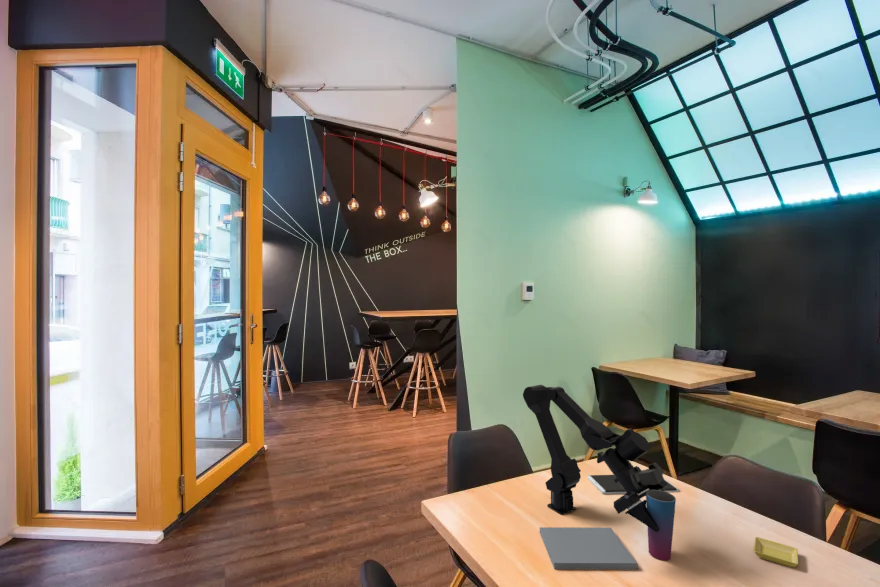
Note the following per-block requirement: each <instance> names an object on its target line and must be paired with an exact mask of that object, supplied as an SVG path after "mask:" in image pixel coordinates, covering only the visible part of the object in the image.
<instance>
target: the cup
mask: <svg viewBox="0 0 880 587" xmlns="http://www.w3.org/2000/svg"><path fill="white" fill-rule="evenodd" d="M645 500H646V508H647V510H648V511H649V513H650V515H651V516H652V518H653V519H654V521H655V522H656V524H657V526H658V528H659V529H660V531H658V532H655V531H654V530H652V529H651V528H649V527H648V526H647V542H648V544H647V545H648V554H649V555H650V556H651V557H653V558H655V559H658V560H660V561H669V560H671V558H672V548H673V535H674V522H675V511H676V500H677V499H676V497H675V496H674V495H673V494H672V493H671V492H665V491H661V490H648V491H646V496H645Z"/></svg>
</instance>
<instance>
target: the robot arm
mask: <svg viewBox="0 0 880 587" xmlns="http://www.w3.org/2000/svg"><path fill="white" fill-rule="evenodd" d="M522 396H523V398H522V399H523V400H524V403H525V404H526V406H527V408H528V409H529V410H530V411H531V412H532V413H533V414H534V415H535V418H536V420H537V423H538V425H539V426H538V427H539V428H540V431H541V433H542V436H543V440H544V443H545V444H546V447H547V450H548V453H549V455H550V459H551V463H550V472H551V477H550V478H549V479H548V480H547V481H545V486H546V490H548V491H549V492H550V503H548V504H546V505H547V507H548V508H550V509H551V510H553V511H555V512H556V513H557V514H560V515H561V516H562V515H565V514H568V513H572V512H573V511H574V512H575V511H576V510H577V507H576V506H574V495H573V490H572V489H574V488H576V487H577V484H578V483H580V480H581V479H582V478H581V472H582V471H581V468H579V465H578V463H577V460H576V458H575V457H574V458H571V457H570V456H569V455H568V454H567V452H566V449H565V446H564V444H563V441H562V439H561V436H560V433H559V432H558V428H557V426H556V423H555V420H554V417H553V415H552V412H551V409H550V408H551V401H552V402H553V403H554V405H555V406H557V407H558V408H559V409H560V410H561V412H563V414H565V416H566V417H567V418H568V419H570V421H571V422H572V423H573V424H574V425H575V426H576V427H577V429H579V432H580V434H581V435H580V436H581V438H582V440H584V442H585V443H586V444H587V446H588V447H589V449H591V450H593V451H599V452H597V458H596V463H597V464H600V463H603V462H604V463H605V465H606V466H607V467H608V469H609V470H610V472H611V473H612V475H614V476H615V477H616V479H615V480H614V481H615V483H616V484H617V483H620V484H621V486H622V487H623V488H624V490H625V491H626V494H622V496H620V497H619V498H617V499H616V500H614V501H613V508H614V510H615V511H616V513H617V514H618V515H620V514H621V513H623V512H624V514H625V515H629V516H630V517H632V518H635V519H636V520H637V521H639V522H641V523H643V524H644V525H645V526H646V527H647V528H648V527H649V528H651V529H652V530H654V531H655V532H658V531H660V529H659V528H658V526H657V524H656V522H655V521H654V519H653V518H652V516H651V515H650V513H649V511H648V510H647V506H646V499H643V500H642V498H644V497H646V491H648V490H660V489H662V488H664V487H665V486H667V485H668V484H667V482H666V481H665V480H666V479H665V478H664V476H663V475H664V473H665V471H664V469H662V467H661V466H660V465H659V464H658V463H657V462H654V463H653V462H652V463H650V464H648V468H646V469H643V470H642V469H641V468H640V467H639V466H638V465H636V466H634V465H633V463H631V462H636V460H638V459H639V458H640V457H641V456H643V455H644V454H646V453H647V452H648V451H649V450H650V449H651V446H650V444H649V441H648V439H647V438H646V437H645V436H643V435H642V434H640V433H639V432H637V431H634V429H633V428H628V429H626V430H625V431H624V432H623V433H622V434H618V433H616V432H613V431H612V429H610V428H609V427H608V426H607V425H605V424H603V423H602V422H600V421H598V420H596V419H594V418H593V417H591V416H590V415H589V414H588V413H587V412H586V411H585V410H584V408H582V407H581V406H580V405H579V404H578V403H577V402H576V401H574V399H573V398H572V397H571V396H570V395H569V394H568V393H567V392H566V391H565V388H563V387H561V386H548V387H547V386H545V385H544V384H537V385H533V386H527V387H525V388H524V390H523V393H522ZM613 447H614V448H613ZM604 449H606V450H605V451H601V450H604ZM664 479H665V480H664ZM661 491H665V489H663V490H661ZM626 510H627V511H626Z"/></svg>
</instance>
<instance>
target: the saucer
mask: <svg viewBox="0 0 880 587" xmlns="http://www.w3.org/2000/svg"><path fill="white" fill-rule="evenodd" d="M753 552H754V553H755V555H756V556H757V557H758V558H760V559H763V560H765V561H769V562H773V563H775V564H776V563H777V564H779V565H783V566H785V567H790V568H795V567H797V566H798V565H799V554H798V552H799V551H798V548H796V547H794V546H790V545H786V544H783V543H780V542H776V541H773V540H768V539H766V538H762V537H758V536H756V537H754V545H753Z"/></svg>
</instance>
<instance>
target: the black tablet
mask: <svg viewBox="0 0 880 587" xmlns="http://www.w3.org/2000/svg"><path fill="white" fill-rule="evenodd" d="M615 479H616V477H615V476H614V474H593V475H592V474H590V475H588V476H587V480H588V481H589V482H590V483H591V484H592V485H593V486H594V487H595V488H596V489H597V490H598V491H599V492H600V493H601V494H602V495H624V494H626V491H625V490H624V488H623V487H622V486H621V484H620V483H617V484H616V483H615V481H614V480H615ZM664 480H665V481H666V482H667V484H668V485H667V486H665V487H664V488H662V489H660V490H663V489H665V492H668V493H678V492H679V491H680V489H679V488H678V487H677V486H675V485H674V484H672V483H671V482H670V481H669V480H667V479H665V478H664Z"/></svg>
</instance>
